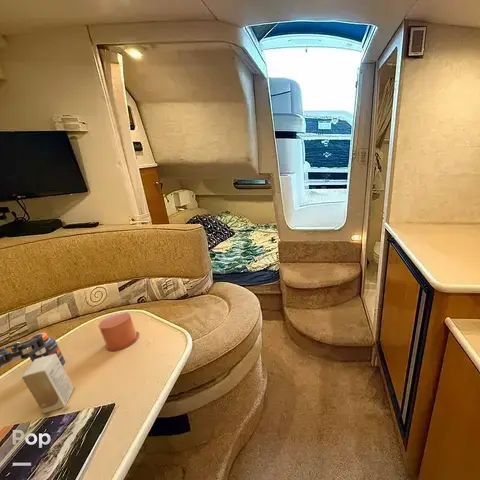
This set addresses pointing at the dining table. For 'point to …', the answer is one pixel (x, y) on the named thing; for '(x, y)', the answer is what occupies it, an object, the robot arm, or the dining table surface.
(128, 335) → the upturned cup
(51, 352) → the pill bottle
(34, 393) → the cosmetic box
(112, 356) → the dining table surface
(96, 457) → the dining table surface
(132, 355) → the dining table surface
